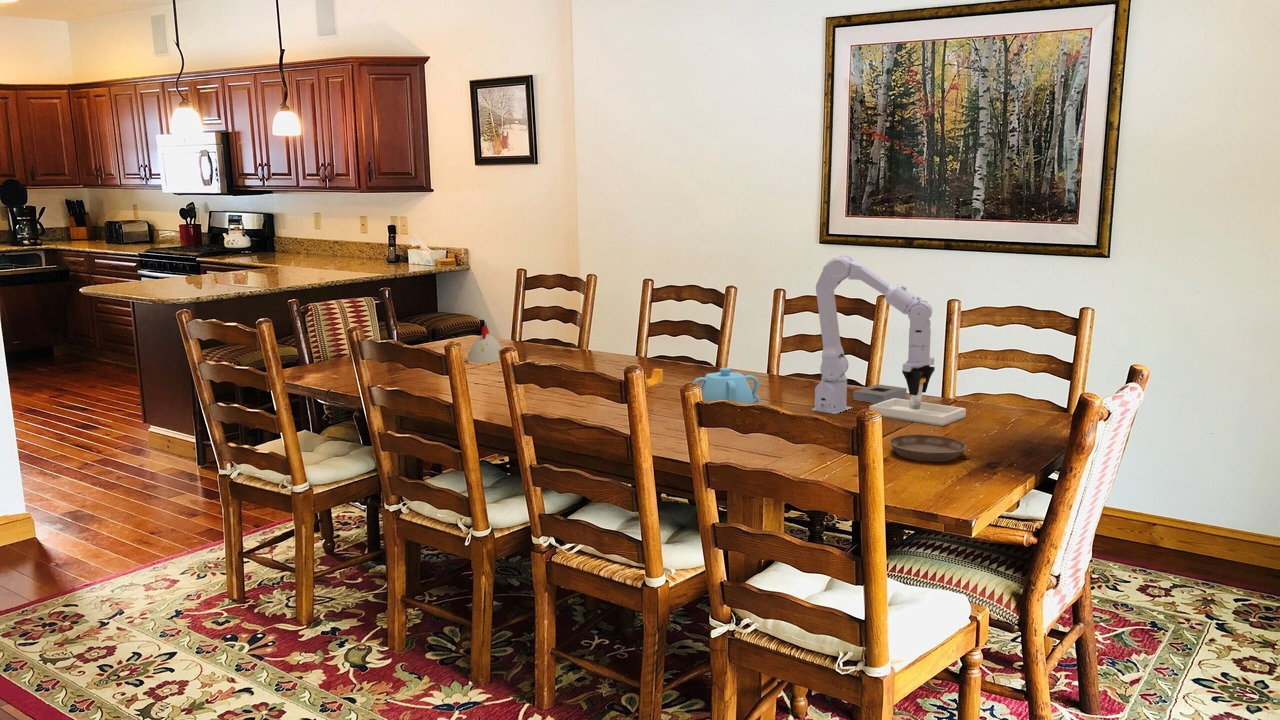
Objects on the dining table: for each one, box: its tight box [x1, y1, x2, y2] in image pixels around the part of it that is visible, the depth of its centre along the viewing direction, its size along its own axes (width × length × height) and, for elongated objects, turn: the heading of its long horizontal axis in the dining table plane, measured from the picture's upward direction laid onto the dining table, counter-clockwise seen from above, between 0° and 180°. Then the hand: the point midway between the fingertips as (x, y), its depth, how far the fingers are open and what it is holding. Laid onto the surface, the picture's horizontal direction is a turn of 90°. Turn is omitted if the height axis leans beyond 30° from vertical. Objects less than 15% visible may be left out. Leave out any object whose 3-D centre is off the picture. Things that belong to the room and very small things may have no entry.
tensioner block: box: [852, 384, 908, 404], centre depth 301 cm, size 14×10×3 cm
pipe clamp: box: [644, 368, 664, 389], centre depth 318 cm, size 12×4×6 cm, turn 148°
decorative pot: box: [691, 367, 761, 404], centre depth 282 cm, size 16×16×14 cm
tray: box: [868, 398, 967, 427], centre depth 279 cm, size 14×22×2 cm, turn 47°
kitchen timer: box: [467, 325, 504, 363], centre depth 367 cm, size 14×14×15 cm
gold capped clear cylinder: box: [909, 376, 926, 410], centre depth 278 cm, size 4×4×9 cm
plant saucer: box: [889, 434, 967, 463], centre depth 239 cm, size 18×18×3 cm
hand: (917, 393), depth 278 cm, fingers closed on gold capped clear cylinder, 4 cm apart
